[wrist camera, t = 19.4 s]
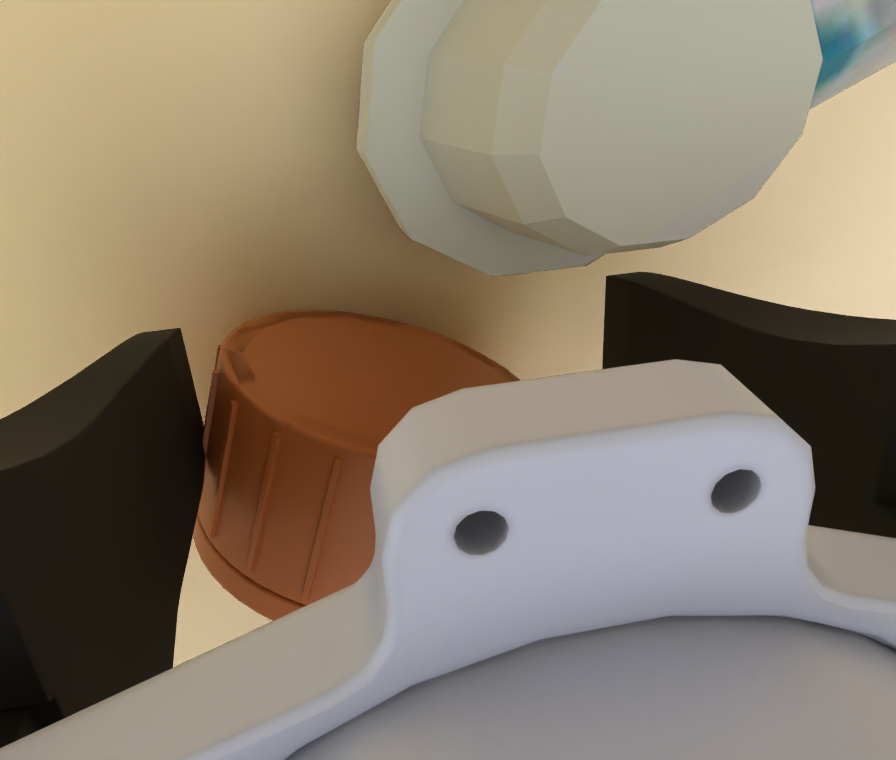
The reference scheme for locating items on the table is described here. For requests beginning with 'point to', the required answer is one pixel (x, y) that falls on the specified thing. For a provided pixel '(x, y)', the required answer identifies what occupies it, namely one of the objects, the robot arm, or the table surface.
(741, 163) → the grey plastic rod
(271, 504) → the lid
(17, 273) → the table surface
